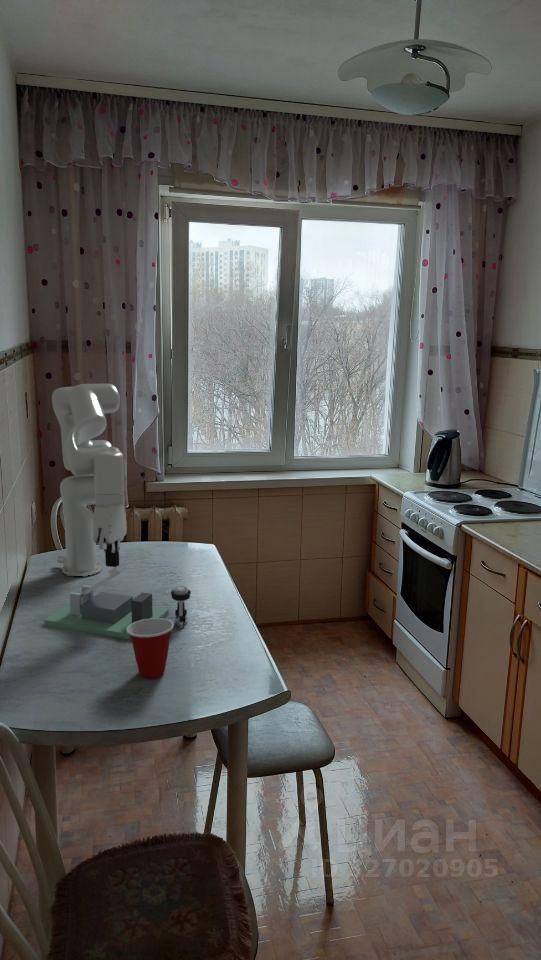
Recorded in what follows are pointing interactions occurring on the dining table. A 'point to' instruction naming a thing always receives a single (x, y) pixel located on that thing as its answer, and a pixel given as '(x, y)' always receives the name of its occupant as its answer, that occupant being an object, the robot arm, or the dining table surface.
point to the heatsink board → (94, 625)
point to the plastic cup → (151, 645)
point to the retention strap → (113, 572)
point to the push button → (180, 604)
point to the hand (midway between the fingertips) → (112, 565)
